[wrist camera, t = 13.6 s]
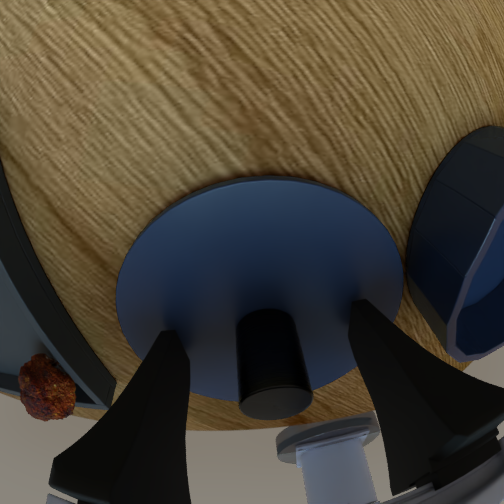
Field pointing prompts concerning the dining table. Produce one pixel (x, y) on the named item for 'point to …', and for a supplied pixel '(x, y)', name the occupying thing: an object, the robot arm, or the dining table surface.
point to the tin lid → (259, 287)
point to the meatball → (46, 389)
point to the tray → (40, 318)
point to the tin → (462, 248)
